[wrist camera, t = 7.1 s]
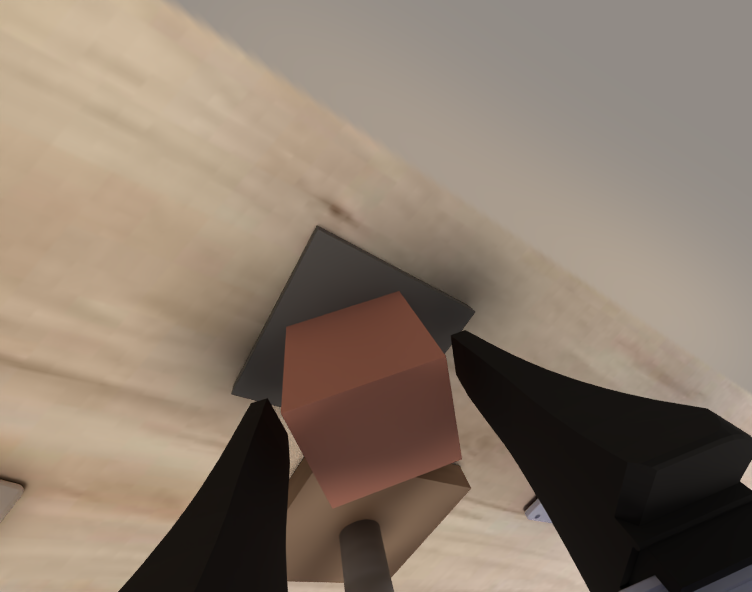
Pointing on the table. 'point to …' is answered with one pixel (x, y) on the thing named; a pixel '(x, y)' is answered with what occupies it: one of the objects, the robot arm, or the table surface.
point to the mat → (339, 306)
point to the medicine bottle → (8, 496)
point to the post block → (364, 528)
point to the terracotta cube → (368, 398)
